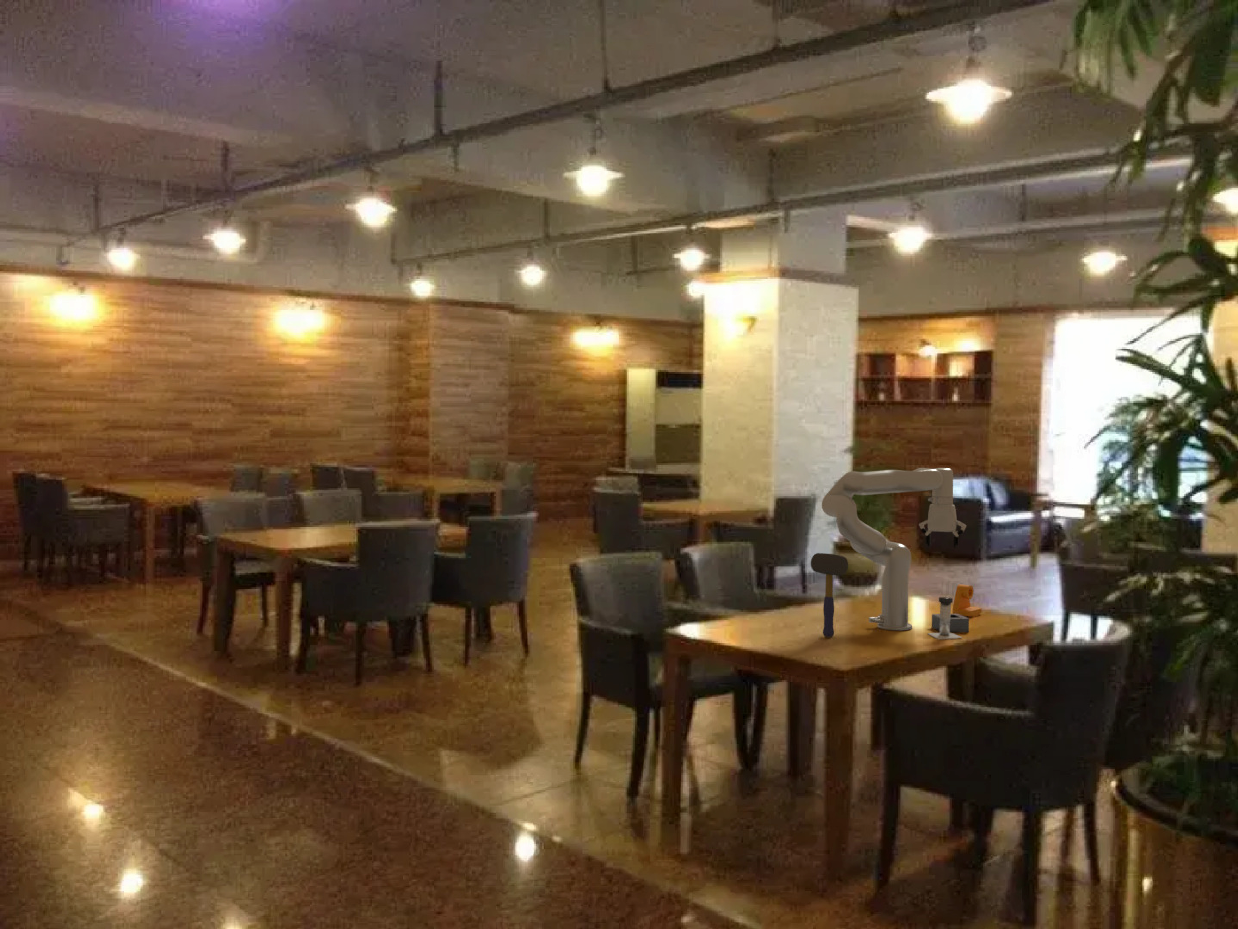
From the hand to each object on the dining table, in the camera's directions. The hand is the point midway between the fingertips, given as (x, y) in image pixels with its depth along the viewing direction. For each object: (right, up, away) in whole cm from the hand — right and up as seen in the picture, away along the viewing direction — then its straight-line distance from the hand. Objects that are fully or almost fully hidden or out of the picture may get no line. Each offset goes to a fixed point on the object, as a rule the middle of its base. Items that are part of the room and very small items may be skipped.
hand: (942, 546), depth 433 cm
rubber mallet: (-47, -31, -22) cm, 61 cm away
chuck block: (+1, -30, -8) cm, 31 cm away
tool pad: (-5, -31, -20) cm, 37 cm away
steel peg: (-5, -30, -20) cm, 37 cm away
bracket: (+16, -29, +22) cm, 40 cm away
